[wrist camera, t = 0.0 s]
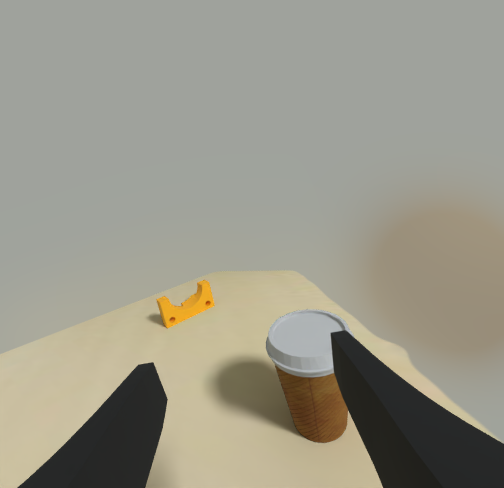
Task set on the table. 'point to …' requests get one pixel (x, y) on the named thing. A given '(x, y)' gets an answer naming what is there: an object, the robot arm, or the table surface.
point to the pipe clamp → (186, 305)
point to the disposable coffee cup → (309, 371)
